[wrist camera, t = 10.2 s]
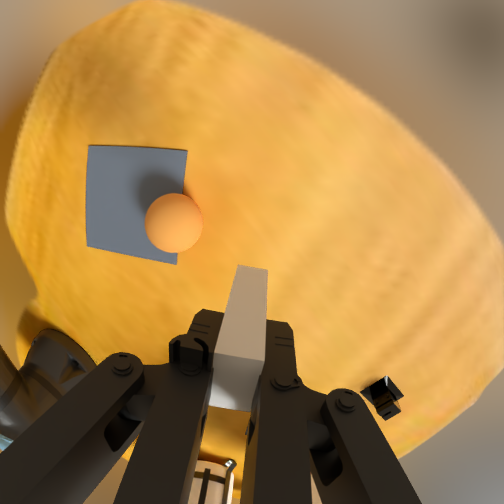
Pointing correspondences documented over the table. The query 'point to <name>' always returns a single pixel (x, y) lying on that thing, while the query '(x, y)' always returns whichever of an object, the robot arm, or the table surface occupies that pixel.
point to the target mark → (129, 196)
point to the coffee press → (212, 483)
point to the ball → (173, 223)
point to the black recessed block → (384, 397)
